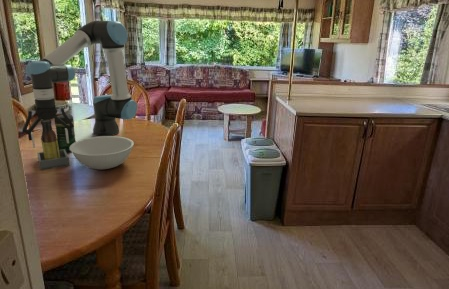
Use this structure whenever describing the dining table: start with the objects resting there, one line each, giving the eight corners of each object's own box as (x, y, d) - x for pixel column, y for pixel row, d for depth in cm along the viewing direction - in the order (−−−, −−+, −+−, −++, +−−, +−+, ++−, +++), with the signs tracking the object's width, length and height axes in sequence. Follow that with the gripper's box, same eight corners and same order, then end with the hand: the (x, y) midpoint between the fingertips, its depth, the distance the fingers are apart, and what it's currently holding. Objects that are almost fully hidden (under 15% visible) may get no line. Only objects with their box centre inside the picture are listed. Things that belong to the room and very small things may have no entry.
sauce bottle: (52, 158, 148) (46, 117, 142) (63, 160, 147) (58, 118, 140) (41, 163, 142) (34, 120, 136) (53, 165, 141) (46, 122, 134)
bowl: (74, 157, 152) (71, 138, 149) (132, 152, 162) (131, 134, 159) (69, 180, 128) (66, 158, 125) (137, 173, 138) (136, 152, 134)
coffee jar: (73, 152, 158) (69, 117, 153) (56, 153, 157) (51, 117, 151) (78, 146, 167) (74, 112, 162) (62, 147, 166) (58, 112, 160)
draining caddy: (65, 156, 153) (64, 149, 152) (69, 165, 143) (68, 157, 142) (38, 160, 147) (37, 152, 146) (40, 170, 137) (39, 161, 136)
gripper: (10, 102, 126) (19, 151, 133) (77, 97, 139) (82, 143, 146) (10, 98, 132) (18, 146, 139) (74, 95, 145) (79, 138, 152)
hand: (51, 144), depth 142 cm, fingers open, 13 cm apart
